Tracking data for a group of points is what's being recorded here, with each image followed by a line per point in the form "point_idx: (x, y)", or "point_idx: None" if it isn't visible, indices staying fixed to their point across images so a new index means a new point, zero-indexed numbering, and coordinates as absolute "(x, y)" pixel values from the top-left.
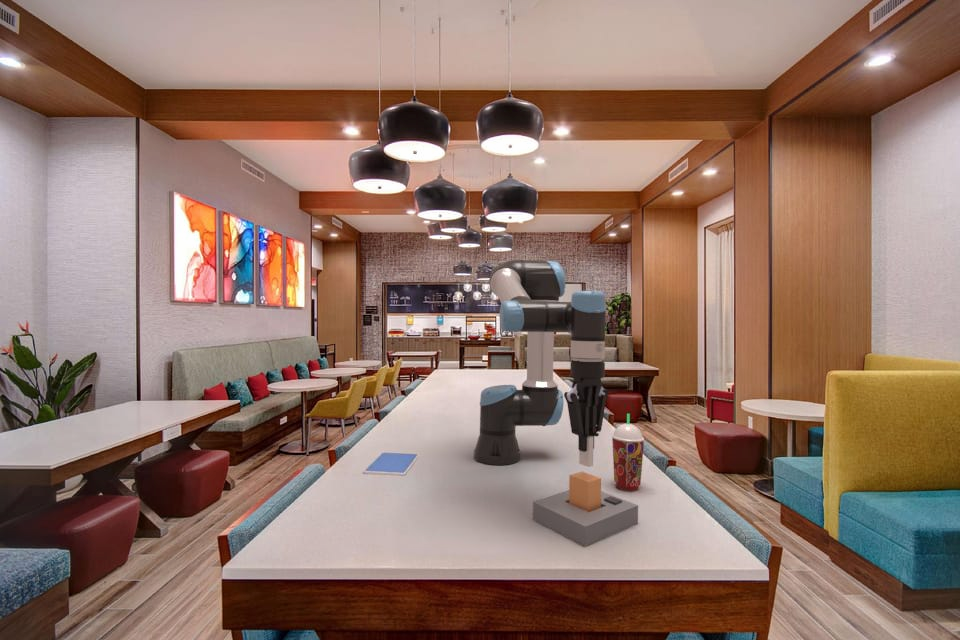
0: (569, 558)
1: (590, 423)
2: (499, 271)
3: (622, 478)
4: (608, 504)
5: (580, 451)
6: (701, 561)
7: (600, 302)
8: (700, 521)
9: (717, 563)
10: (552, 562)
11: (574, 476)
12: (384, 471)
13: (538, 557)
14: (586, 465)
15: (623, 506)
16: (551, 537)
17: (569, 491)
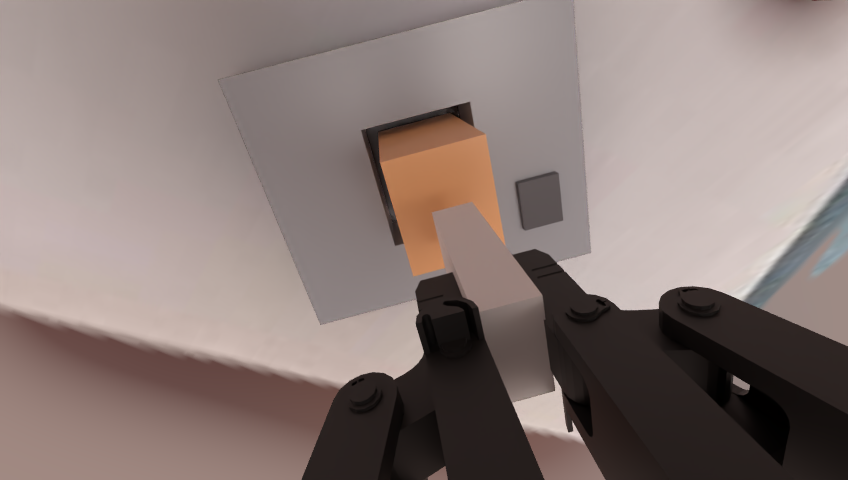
0: (255, 325)
1: (619, 477)
2: None
3: None
4: (504, 214)
5: (446, 253)
6: (534, 404)
7: None
8: (720, 274)
9: (555, 416)
10: (201, 328)
11: (394, 190)
12: None
13: (171, 300)
14: (444, 264)
15: (539, 245)
16: (255, 220)
17: (379, 147)
